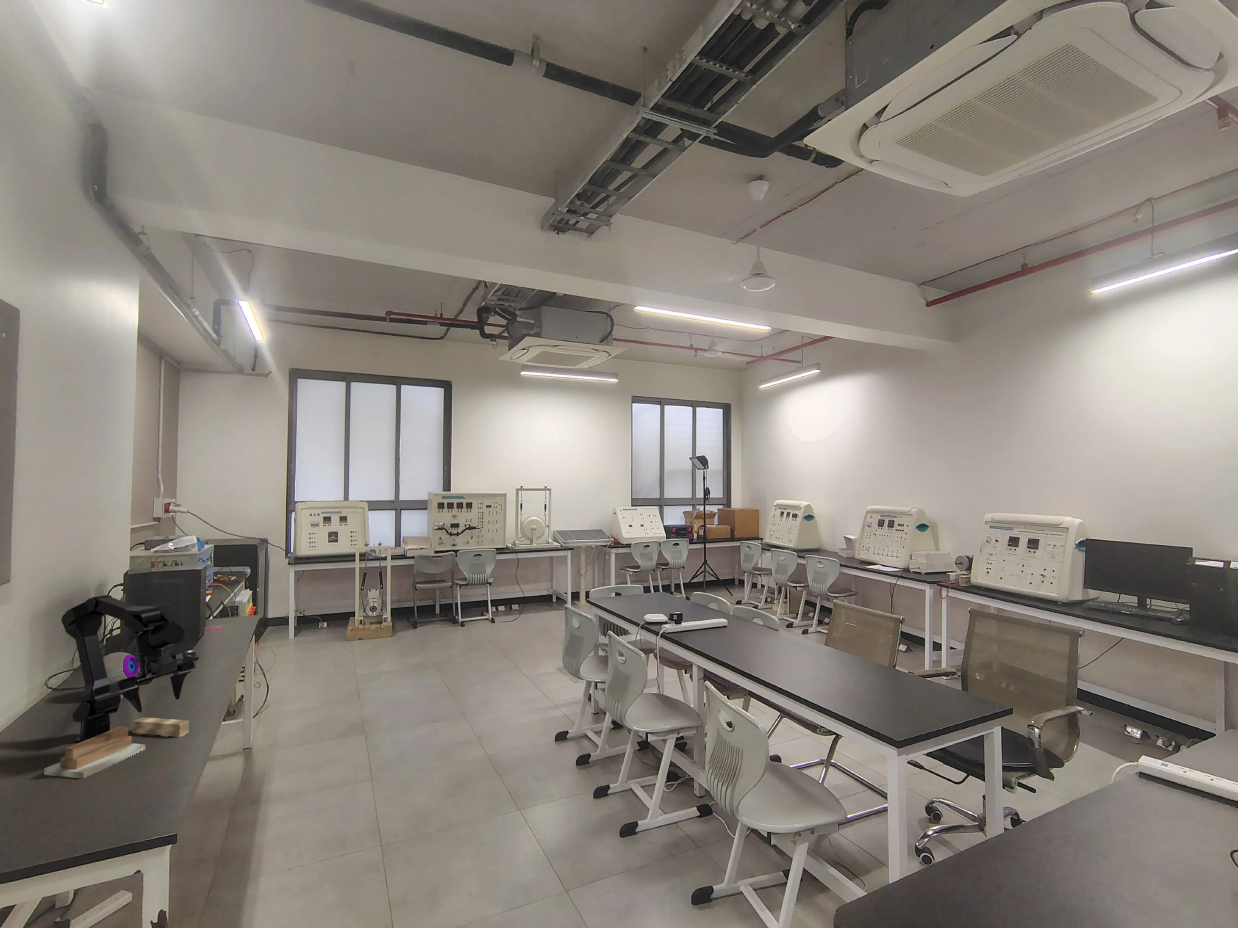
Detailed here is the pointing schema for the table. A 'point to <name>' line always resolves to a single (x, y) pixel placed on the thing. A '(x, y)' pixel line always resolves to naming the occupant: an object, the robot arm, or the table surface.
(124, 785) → the table surface
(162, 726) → the light wooden block
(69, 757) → the ridge stand
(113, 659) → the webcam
